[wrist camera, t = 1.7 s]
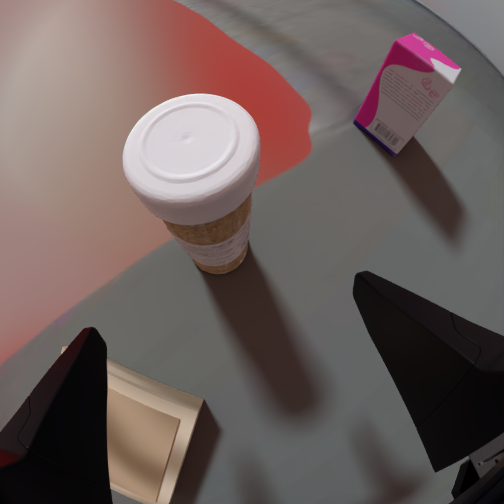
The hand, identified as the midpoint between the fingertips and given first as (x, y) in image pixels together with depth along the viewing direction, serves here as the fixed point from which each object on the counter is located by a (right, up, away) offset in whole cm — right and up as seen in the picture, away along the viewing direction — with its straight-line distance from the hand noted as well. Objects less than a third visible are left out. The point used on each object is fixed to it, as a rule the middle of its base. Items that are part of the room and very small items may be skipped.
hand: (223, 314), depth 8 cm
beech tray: (-10, -12, +8) cm, 18 cm away
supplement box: (+15, +15, +16) cm, 27 cm away
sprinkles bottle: (-2, +2, +13) cm, 13 cm away
